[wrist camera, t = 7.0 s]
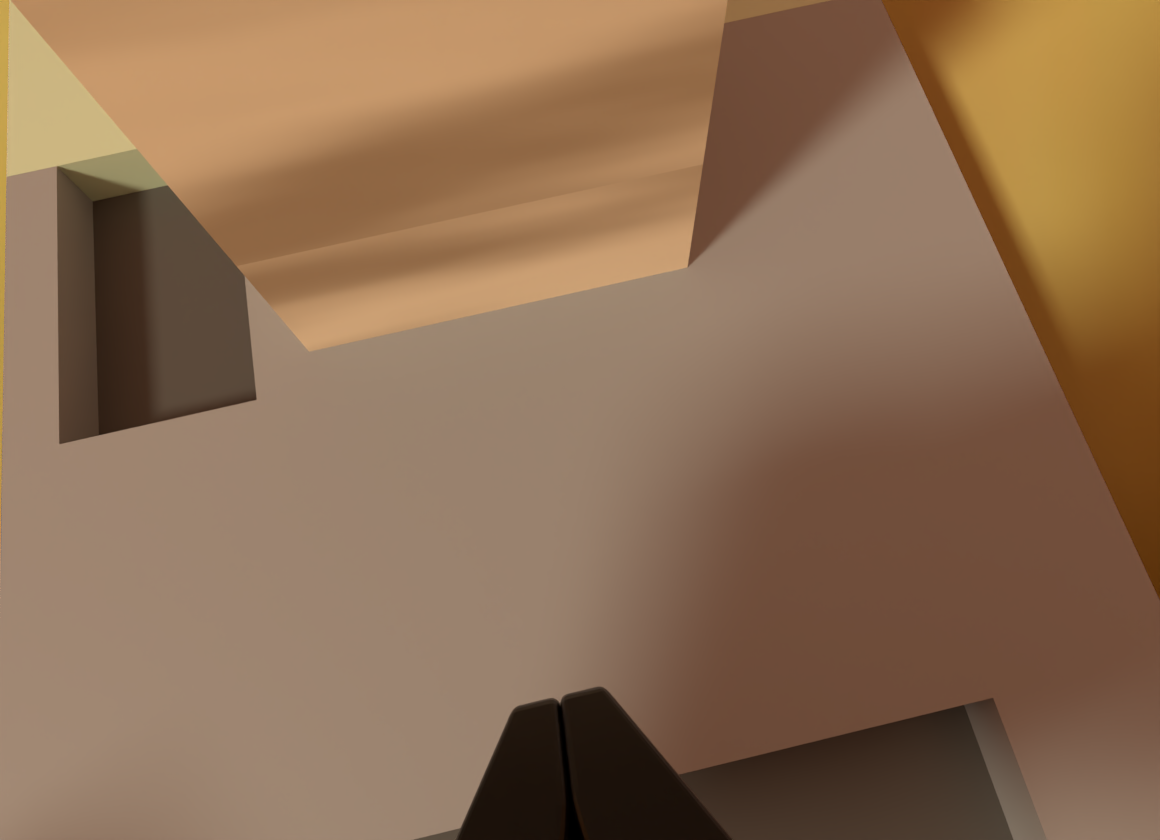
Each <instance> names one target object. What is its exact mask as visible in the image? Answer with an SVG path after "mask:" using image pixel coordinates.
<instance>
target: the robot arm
mask: <svg viewBox="0 0 1160 840" xmlns="http://www.w3.org/2000/svg"><path fill="white" fill-rule="evenodd" d="M456 840H733V839H732V838H731V837H730V836H729V834H728V833H727V832H726V831H725V830H724V828H723V827H722V826H721V825H720V824H719V822H718V821H717V820H716V819H715V818H714V816H713V815H712V814H711V813H710V812H709V810H708V809H707V808H706V807H705V806H704V804H703V803H702V802H701V801H700V800H699V798H698V797H697V796H696V795H695V794H694V792H693V791H692V790H691V789H690V788H689V787H688V785H687V784H686V783H685V782H684V781H683V779H682V778H681V777H680V776H679V775H678V773H677V772H676V771H675V770H674V769H673V767H672V766H671V765H670V764H669V763H668V761H667V760H666V759H665V758H664V757H663V755H662V754H661V753H660V752H659V751H658V749H657V748H656V747H655V746H654V745H653V744H652V742H651V741H650V740H649V739H648V738H647V736H646V735H645V734H644V733H643V732H642V730H641V729H640V728H639V727H638V726H637V724H636V723H635V722H634V721H633V720H632V718H631V717H630V716H629V715H628V714H627V712H626V711H625V710H624V709H623V708H622V706H621V705H620V704H619V703H618V702H617V701H616V699H615V698H614V697H613V696H612V695H611V693H610V692H609V691H608V690H607V689H605V688H604V687H600V686H598V687H593V688H589V689H585V690H581V691H577V692H572V693H568V694H566V695H564V696H563V697H562V699H561V702H560V703H559V701H558V700H557V699H555V698H547V699H543V700H539V701H535V702H531V703H527V704H522V705H519V706H517V707H515V708H514V709H513V710H512V712H511V714H510V716H509V718H508V720H507V723H506V725H505V727H504V729H503V732H502V734H501V736H500V739H499V741H498V743H497V745H496V748H495V750H494V752H493V755H492V757H491V759H490V762H489V764H488V766H487V768H486V771H485V773H484V775H483V778H482V780H481V782H480V784H479V787H478V789H477V791H476V794H475V796H474V798H473V801H472V803H471V805H470V807H469V810H468V812H467V814H466V817H465V819H464V821H463V823H462V826H461V828H460V830H459V833H458V835H457V837H456Z"/></svg>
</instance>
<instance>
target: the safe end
mask: <svg viewBox="0 0 1160 840" xmlns="http://www.w3.org/2000/svg"><path fill="white" fill-rule="evenodd" d="M826 1H831V0H728V1H727V8H726V15H725V21H724V23H728V22H733V21H737V20H742V19H747V18H751V17H756V16H761V15H765V14H770V13H775V12H779V11H784V10H789V9H793V8H798V7H803V6H807V5H812V4H817V3H821V2H826ZM55 166H57V167H58V168H59V169H60V170H61V171H62V172H63V173H64V174H65V175H66V176H67V177H68V178H69V179H70V180H71V181H72V182H73V183H74V184H75V185H76V186H77V187H78V188H79V189H80V190H82V191H83V192H84V193H85V194H86V195H87V196H88V197H89V198H90V199H91V200H92V201H97V200H102V199H106V198H111V197H116V196H120V195H125V194H129V193H134V192H139V191H143V190H148V189H153V188H157V187H162V186H167V184H166V183H165V181H164V180H163V179H162V178H161V177H160V176H159V174H158V173H157V172H156V171H155V170H154V169H153V167H152V166H151V165H150V164H149V163H148V161H147V160H146V159H145V158H144V157H143V156H142V154H141V153H140V152H139V151H138V150H137V149H136V147H135V146H134V145H133V144H132V143H131V141H130V140H129V139H128V138H127V137H126V136H125V134H124V133H123V132H122V131H121V130H120V129H119V127H118V126H117V125H116V124H115V123H114V121H113V120H112V119H111V118H110V117H109V116H108V114H107V113H106V112H105V111H104V110H103V109H102V107H101V106H100V105H99V104H98V103H97V101H96V100H95V99H94V98H93V97H92V96H91V94H90V93H89V92H88V91H87V90H86V89H85V87H84V86H83V85H82V84H81V83H80V81H79V80H78V79H77V78H76V77H75V76H74V74H73V73H72V72H71V71H70V70H69V69H68V67H67V66H66V65H65V64H64V63H63V61H62V60H61V59H60V58H59V57H58V56H57V54H56V53H55V52H54V51H53V50H52V49H51V47H50V46H49V45H48V44H47V43H46V41H45V40H44V39H43V38H42V37H41V36H40V34H39V33H38V32H37V31H36V30H35V29H34V27H33V26H32V25H31V24H30V23H29V21H28V20H27V19H26V18H25V17H24V16H23V14H22V13H21V12H20V11H19V10H18V9H17V7H16V6H15V5H14V4H13V3H12V1H11V0H9V55H8V116H7V177H9V176H13V175H18V174H23V173H27V172H32V171H37V170H41V169H46V168H51V167H55Z"/></svg>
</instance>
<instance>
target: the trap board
mask: <svg viewBox="0 0 1160 840" xmlns="http://www.w3.org/2000/svg"><path fill="white" fill-rule="evenodd" d="M598 686H600V687H604V688H605V689H607V690H608V691H609V692H610V693H611V695H612V696H613V697H614V698H615V699H616V701H617V702H618V703H619V704H620V705H621V706H622V708H623V709H624V710H625V711H626V712H627V714H628V715H629V716H630V717H631V718H632V720H633V721H634V722H635V723H636V724H637V726H638V727H639V728H640V729H641V730H642V732H643V733H644V734H645V735H646V736H647V738H648V739H649V740H650V741H651V742H652V744H653V745H654V746H655V747H656V748H657V749H658V751H659V752H660V753H661V754H662V755H663V757H664V758H665V759H666V760H667V761H668V763H669V764H670V765H671V766H672V767H673V769H674V770H675V771H676V772H677V773H678V775H679V776H680V777H681V778H682V779H683V781H684V782H685V783H686V784H687V785H688V787H689V788H690V789H691V790H692V791H693V792H694V794H695V795H696V796H697V797H698V798H699V800H700V801H701V802H702V803H703V804H704V806H705V807H706V808H707V809H708V810H709V812H710V813H711V814H712V815H713V816H714V818H715V819H716V820H717V821H718V822H719V824H720V825H721V826H722V827H723V828H724V830H725V831H726V832H727V833H728V834H729V836H730V837H731V838H732V839H733V840H1160V600H1159V597H1158V595H1157V593H1156V591H1155V589H1154V587H1153V585H1152V582H1151V580H1150V578H1149V576H1148V574H1147V572H1146V569H1145V567H1144V565H1143V563H1142V561H1141V559H1140V557H1139V554H1138V552H1137V550H1136V548H1135V546H1134V544H1133V541H1132V539H1131V537H1130V535H1129V533H1128V531H1127V528H1126V526H1125V524H1124V522H1123V520H1122V518H1121V516H1120V513H1119V511H1118V509H1117V507H1116V505H1115V503H1114V500H1113V498H1112V496H1111V494H1110V492H1109V490H1108V488H1107V485H1106V483H1105V481H1104V479H1103V477H1102V475H1101V472H1100V470H1099V468H1098V466H1097V464H1096V462H1095V459H1094V457H1093V455H1092V453H1091V451H1090V449H1089V447H1088V444H1087V442H1086V440H1085V438H1084V436H1083V434H1082V431H1081V429H1080V427H1079V425H1078V423H1077V421H1076V418H1075V416H1074V414H1073V412H1072V410H1071V408H1070V406H1069V403H1068V401H1067V399H1066V397H1065V395H1064V393H1063V390H1062V388H1061V386H1060V384H1059V382H1058V380H1057V378H1056V375H1055V373H1054V371H1053V369H1052V367H1051V365H1050V362H1049V360H1048V358H1047V356H1046V354H1045V352H1044V349H1043V347H1042V345H1041V343H1040V341H1039V339H1038V337H1037V334H1036V332H1035V330H1034V328H1033V326H1032V324H1031V321H1030V319H1029V317H1028V315H1027V313H1026V311H1025V309H1024V306H1023V304H1022V302H1021V300H1020V298H1019V296H1018V293H1017V291H1016V289H1015V287H1014V285H1013V283H1012V280H1011V278H1010V276H1009V274H1008V272H1007V270H1006V268H1005V265H1004V263H1003V261H1002V259H1001V257H1000V255H999V252H998V250H997V248H996V246H995V244H994V242H993V239H992V237H991V235H990V233H989V231H988V229H987V227H986V224H985V222H984V220H983V218H982V216H981V214H980V211H979V209H978V207H977V205H976V203H975V201H974V199H973V196H972V194H971V192H970V190H969V188H968V186H967V183H966V181H965V179H964V177H963V175H962V173H961V170H960V168H959V166H958V164H957V162H956V160H955V158H954V155H953V153H952V151H951V149H950V147H949V145H948V142H947V140H946V138H945V136H944V134H943V132H942V130H941V127H940V125H939V123H938V121H937V119H936V117H935V114H934V112H933V110H932V108H931V106H930V104H929V101H928V99H927V97H926V95H925V93H924V91H923V89H922V86H921V84H920V82H919V80H918V78H917V76H916V73H915V71H914V69H913V67H912V65H911V63H910V60H909V58H908V56H907V54H906V52H905V50H904V48H903V45H902V43H901V41H900V39H899V37H898V35H897V32H896V30H895V28H894V26H893V24H892V22H891V20H890V17H889V15H888V13H887V11H886V9H885V7H884V4H883V2H882V0H831V1H826V2H821V3H817V4H812V5H807V6H803V7H798V8H793V9H789V10H784V11H779V12H775V13H770V14H765V15H761V16H756V17H751V18H747V19H742V20H737V21H733V22H728V23H724V28H723V35H722V41H721V48H720V55H719V61H718V68H717V74H716V81H715V88H714V94H713V101H712V108H711V114H710V121H709V128H708V134H707V141H706V148H705V154H704V161H703V167H702V174H701V181H700V187H699V194H698V201H697V207H696V214H695V221H694V227H693V234H692V241H691V247H690V254H689V261H688V267H687V268H683V269H679V270H674V271H670V272H665V273H661V274H656V275H652V276H647V277H643V278H638V279H634V280H629V281H625V282H620V283H616V284H611V285H607V286H602V287H598V288H593V289H589V290H584V291H580V292H575V293H571V294H566V295H562V296H557V297H553V298H548V299H544V300H539V301H535V302H530V303H526V304H521V305H517V306H512V307H508V308H503V309H499V310H494V311H490V312H485V313H481V314H476V315H472V316H467V317H463V318H458V319H454V320H449V321H445V322H440V323H436V324H431V325H427V326H422V327H418V328H413V329H409V330H404V331H400V332H396V333H391V334H387V335H382V336H378V337H373V338H369V339H364V340H360V341H355V342H351V343H346V344H342V345H337V346H333V347H328V348H324V349H319V350H315V351H310V352H309V351H308V350H307V349H306V347H305V346H304V345H303V344H302V343H301V341H300V340H299V339H298V338H297V337H296V336H295V334H294V333H293V332H292V331H291V330H290V329H289V327H288V326H287V325H286V324H285V323H284V321H283V320H282V319H281V318H280V317H279V316H278V314H277V313H276V312H275V311H274V310H273V309H272V307H271V306H270V305H269V304H268V303H267V301H266V300H265V299H264V298H263V297H262V296H261V294H260V293H259V292H258V291H257V290H256V289H255V287H254V286H253V285H252V284H251V283H250V281H249V280H248V279H247V278H246V277H245V276H244V274H243V273H242V272H241V271H240V270H239V269H238V267H237V266H236V265H235V264H234V263H233V261H232V260H231V259H230V258H229V257H228V256H227V254H226V253H225V252H224V251H223V250H222V249H221V247H220V246H219V245H218V244H217V243H216V241H215V240H214V239H213V238H212V237H211V236H210V234H209V233H208V232H207V231H206V230H205V229H204V227H203V226H202V225H201V224H200V223H199V221H198V220H197V219H196V218H195V217H194V216H193V214H192V213H191V212H190V211H189V210H188V209H187V207H186V206H185V205H184V204H183V203H182V201H181V200H180V199H179V198H178V197H177V196H176V194H175V193H174V192H173V191H172V190H171V189H170V187H169V186H168V185H167V186H162V187H157V188H153V189H148V190H143V191H139V192H134V193H129V194H125V195H120V196H116V197H111V198H106V199H102V200H97V201H92V200H91V199H90V198H89V197H88V196H87V195H86V194H85V193H84V192H83V191H82V190H80V189H79V188H78V187H77V186H76V185H75V184H74V183H73V182H72V181H71V180H70V179H69V178H68V177H67V176H66V175H65V174H64V173H63V172H62V171H61V170H60V169H59V168H58V167H57V166H55V167H51V168H46V169H41V170H37V171H32V172H27V173H23V174H18V175H13V176H9V177H7V186H6V248H5V309H4V370H3V432H2V493H1V555H0V840H456V837H457V835H458V833H459V830H460V828H461V826H462V823H463V821H464V819H465V817H466V814H467V812H468V810H469V807H470V805H471V803H472V801H473V798H474V796H475V794H476V791H477V789H478V787H479V784H480V782H481V780H482V778H483V775H484V773H485V771H486V768H487V766H488V764H489V762H490V759H491V757H492V755H493V752H494V750H495V748H496V745H497V743H498V741H499V739H500V736H501V734H502V732H503V729H504V727H505V725H506V723H507V720H508V718H509V716H510V714H511V712H512V710H513V709H514V708H515V707H517V706H519V705H522V704H527V703H531V702H535V701H539V700H543V699H547V698H555V699H557V700H558V701H559V703H560V702H561V699H562V697H563V696H564V695H566V694H568V693H572V692H577V691H581V690H585V689H589V688H593V687H598Z"/></svg>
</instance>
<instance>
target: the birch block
mask: <svg viewBox="0 0 1160 840" xmlns="http://www.w3.org/2000/svg"><path fill="white" fill-rule="evenodd" d="M11 1H12V3H13V4H14V5H15V6H16V7H17V9H18V10H19V11H20V12H21V13H22V14H23V16H24V17H25V18H26V19H27V20H28V21H29V23H30V24H31V25H32V26H33V27H34V29H35V30H36V31H37V32H38V33H39V34H40V36H41V37H42V38H43V39H44V40H45V41H46V43H47V44H48V45H49V46H50V47H51V49H52V50H53V51H54V52H55V53H56V54H57V56H58V57H59V58H60V59H61V60H62V61H63V63H64V64H65V65H66V66H67V67H68V69H69V70H70V71H71V72H72V73H73V74H74V76H75V77H76V78H77V79H78V80H79V81H80V83H81V84H82V85H83V86H84V87H85V89H86V90H87V91H88V92H89V93H90V94H91V96H92V97H93V98H94V99H95V100H96V101H97V103H98V104H99V105H100V106H101V107H102V109H103V110H104V111H105V112H106V113H107V114H108V116H109V117H110V118H111V119H112V120H113V121H114V123H115V124H116V125H117V126H118V127H119V129H120V130H121V131H122V132H123V133H124V134H125V136H126V137H127V138H128V139H129V140H130V141H131V143H132V144H133V145H134V146H135V147H136V149H137V150H138V151H139V152H140V153H141V154H142V156H143V157H144V158H145V159H146V160H147V161H148V163H149V164H150V165H151V166H152V167H153V169H154V170H155V171H156V172H157V173H158V174H159V176H160V177H161V178H162V179H163V180H164V181H165V183H166V184H167V185H168V186H169V187H170V189H171V190H172V191H173V192H174V193H175V194H176V196H177V197H178V198H179V199H180V200H181V201H182V203H183V204H184V205H185V206H186V207H187V209H188V210H189V211H190V212H191V213H192V214H193V216H194V217H195V218H196V219H197V220H198V221H199V223H200V224H201V225H202V226H203V227H204V229H205V230H206V231H207V232H208V233H209V234H210V236H211V237H212V238H213V239H214V240H215V241H216V243H217V244H218V245H219V246H220V247H221V249H222V250H223V251H224V252H225V253H226V254H227V256H228V257H229V258H230V259H231V260H232V261H233V263H234V264H235V265H236V266H237V267H238V269H239V270H240V271H241V272H242V273H243V274H244V276H245V277H246V278H247V279H248V280H249V281H250V283H251V284H252V285H253V286H254V287H255V289H256V290H257V291H258V292H259V293H260V294H261V296H262V297H263V298H264V299H265V300H266V301H267V303H268V304H269V305H270V306H271V307H272V309H273V310H274V311H275V312H276V313H277V314H278V316H279V317H280V318H281V319H282V320H283V321H284V323H285V324H286V325H287V326H288V327H289V329H290V330H291V331H292V332H293V333H294V334H295V336H296V337H297V338H298V339H299V340H300V341H301V343H302V344H303V345H304V346H305V347H306V349H307V350H308V351H309V352H310V351H315V350H319V349H324V348H328V347H333V346H337V345H342V344H346V343H351V342H355V341H360V340H364V339H369V338H373V337H378V336H382V335H387V334H391V333H396V332H400V331H404V330H409V329H413V328H418V327H422V326H427V325H431V324H436V323H440V322H445V321H449V320H454V319H458V318H463V317H467V316H472V315H476V314H481V313H485V312H490V311H494V310H499V309H503V308H508V307H512V306H517V305H521V304H526V303H530V302H535V301H539V300H544V299H548V298H553V297H557V296H562V295H566V294H571V293H575V292H580V291H584V290H589V289H593V288H598V287H602V286H607V285H611V284H616V283H620V282H625V281H629V280H634V279H638V278H643V277H647V276H652V275H656V274H661V273H665V272H670V271H674V270H679V269H683V268H687V267H688V261H689V254H690V247H691V241H692V234H693V227H694V221H695V214H696V207H697V201H698V194H699V187H700V181H701V174H702V167H703V161H704V154H705V148H706V141H707V134H708V128H709V121H710V114H711V108H712V101H713V94H714V88H715V81H716V74H717V68H718V61H719V55H720V48H721V41H722V35H723V28H724V21H725V15H726V8H727V1H728V0H11Z"/></svg>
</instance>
